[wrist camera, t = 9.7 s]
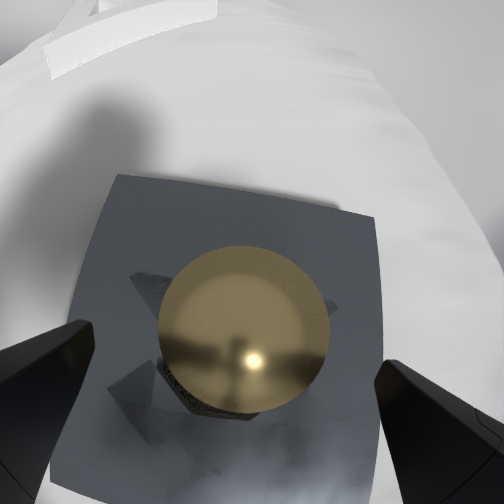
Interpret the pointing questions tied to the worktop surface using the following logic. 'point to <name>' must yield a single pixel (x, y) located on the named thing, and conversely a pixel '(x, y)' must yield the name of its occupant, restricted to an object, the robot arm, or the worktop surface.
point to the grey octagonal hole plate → (167, 395)
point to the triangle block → (116, 27)
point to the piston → (243, 329)
